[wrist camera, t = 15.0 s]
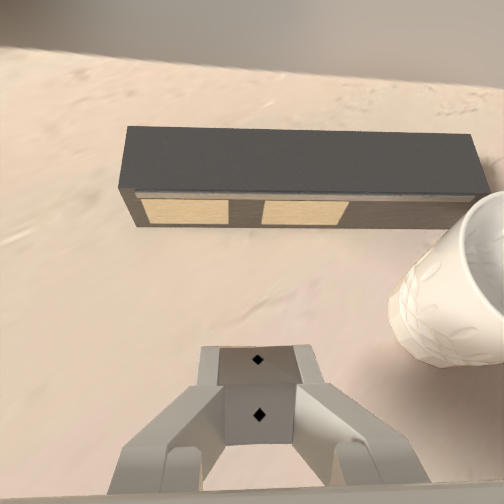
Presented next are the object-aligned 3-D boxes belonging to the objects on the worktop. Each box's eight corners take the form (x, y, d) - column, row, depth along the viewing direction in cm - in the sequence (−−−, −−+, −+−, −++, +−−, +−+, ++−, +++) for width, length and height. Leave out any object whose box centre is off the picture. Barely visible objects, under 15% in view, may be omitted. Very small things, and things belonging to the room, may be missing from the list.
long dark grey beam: (450, 231, 29) (491, 195, 24) (136, 229, 27) (117, 190, 23) (434, 176, 31) (470, 134, 26) (143, 171, 29) (127, 125, 25)
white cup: (393, 382, 24) (495, 358, 15) (367, 268, 27) (438, 191, 18) (508, 373, 24) (674, 344, 15) (469, 263, 28) (588, 186, 18)
